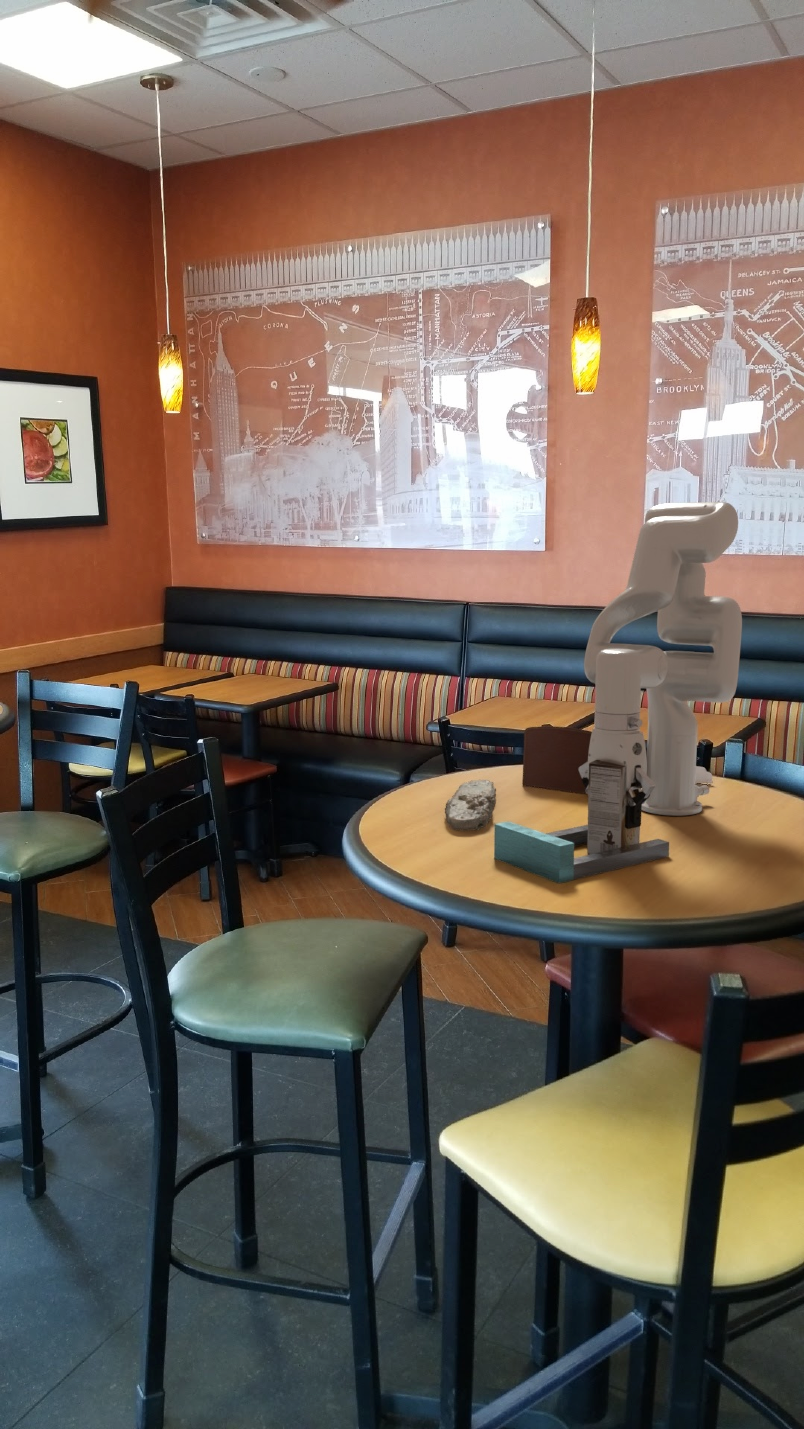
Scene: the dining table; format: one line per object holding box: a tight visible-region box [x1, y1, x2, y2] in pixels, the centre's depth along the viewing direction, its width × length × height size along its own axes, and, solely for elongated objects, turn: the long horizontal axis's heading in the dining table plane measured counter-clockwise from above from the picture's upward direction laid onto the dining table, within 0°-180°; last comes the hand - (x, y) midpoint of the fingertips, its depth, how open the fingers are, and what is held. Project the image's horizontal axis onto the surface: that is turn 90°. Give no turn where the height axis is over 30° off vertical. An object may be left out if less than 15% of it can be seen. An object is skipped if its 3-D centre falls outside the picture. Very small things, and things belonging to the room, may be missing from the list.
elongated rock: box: [444, 779, 497, 832], centre depth 207 cm, size 35×5×10 cm
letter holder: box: [521, 725, 592, 796], centre depth 225 cm, size 10×20×14 cm, turn 57°
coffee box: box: [586, 760, 642, 855], centre depth 178 cm, size 9×6×16 cm
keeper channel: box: [493, 821, 670, 884], centre depth 175 cm, size 25×16×6 cm, turn 124°
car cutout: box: [695, 765, 714, 786], centre depth 231 cm, size 15×7×4 cm, turn 65°
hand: (614, 821), depth 178 cm, fingers closed on coffee box, 8 cm apart
